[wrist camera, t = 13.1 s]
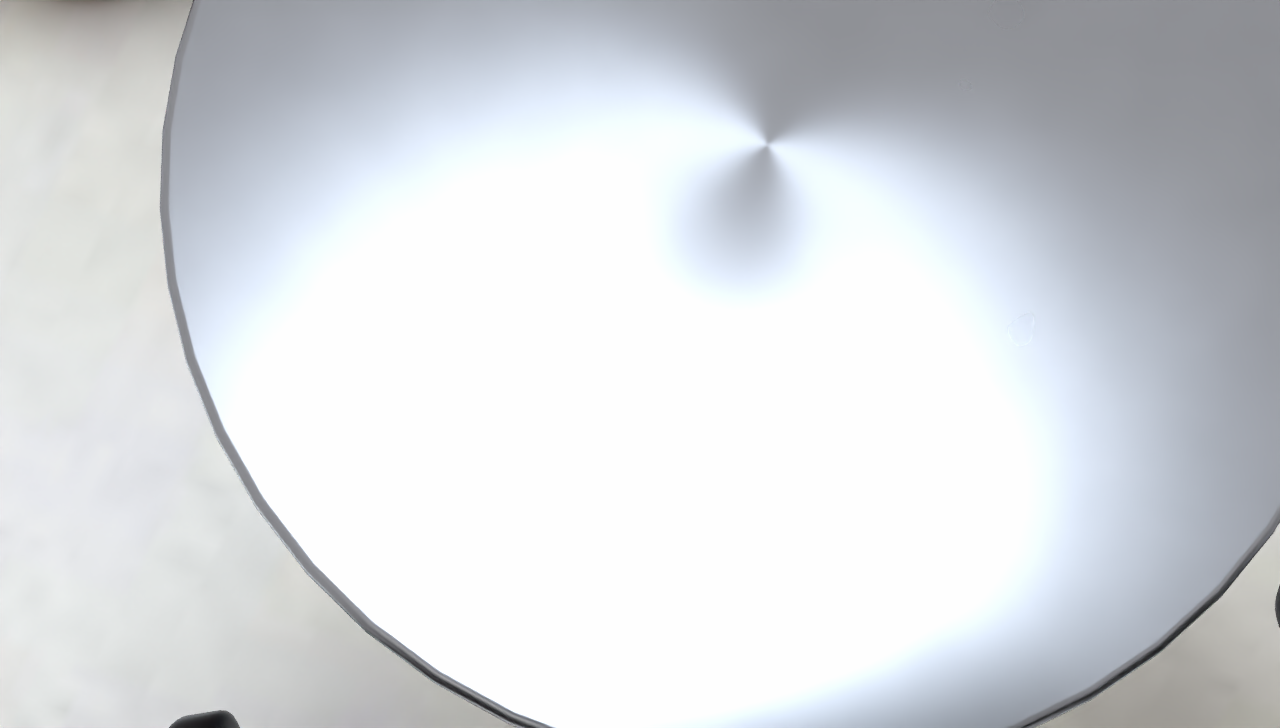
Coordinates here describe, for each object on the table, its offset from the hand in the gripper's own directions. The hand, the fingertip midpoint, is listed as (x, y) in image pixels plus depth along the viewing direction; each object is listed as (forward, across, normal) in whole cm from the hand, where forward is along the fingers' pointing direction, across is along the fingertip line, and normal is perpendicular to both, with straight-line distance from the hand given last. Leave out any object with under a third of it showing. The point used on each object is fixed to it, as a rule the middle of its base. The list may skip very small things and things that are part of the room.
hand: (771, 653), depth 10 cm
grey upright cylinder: (+7, 0, +3) cm, 8 cm away
